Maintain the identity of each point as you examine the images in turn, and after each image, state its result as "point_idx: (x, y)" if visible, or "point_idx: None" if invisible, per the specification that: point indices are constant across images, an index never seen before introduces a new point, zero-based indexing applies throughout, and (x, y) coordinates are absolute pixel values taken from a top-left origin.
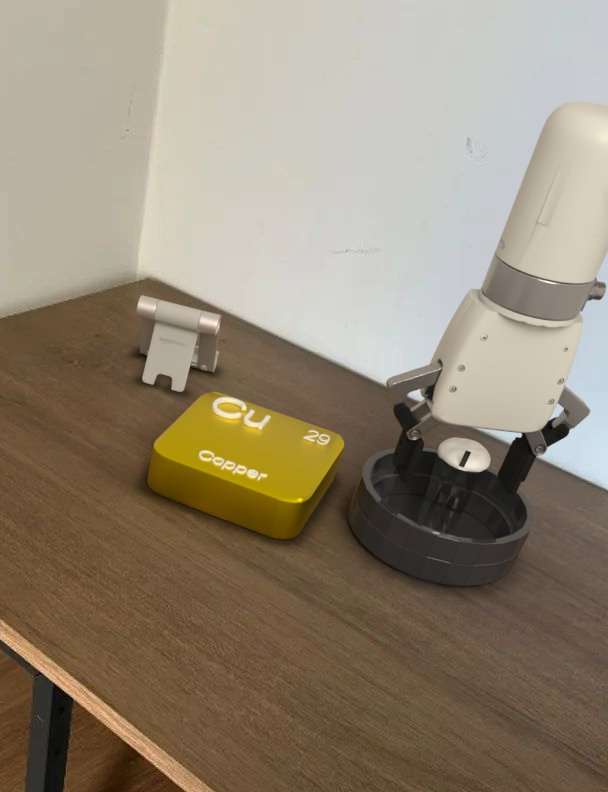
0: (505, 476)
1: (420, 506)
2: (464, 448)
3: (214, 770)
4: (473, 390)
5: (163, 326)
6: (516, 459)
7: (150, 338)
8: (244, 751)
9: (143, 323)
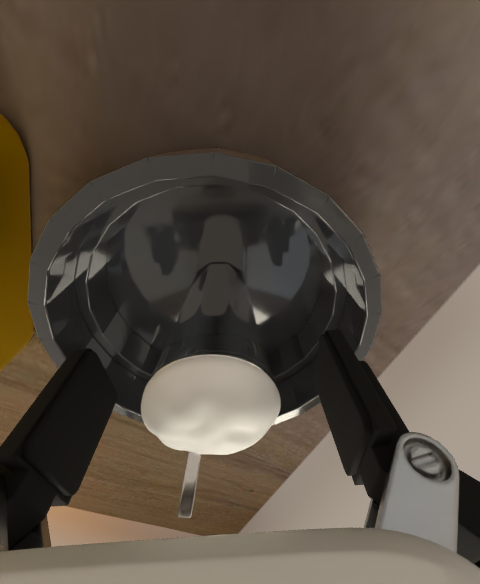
0: (323, 373)
1: (209, 219)
2: (197, 444)
3: (71, 503)
4: None
5: None
6: (341, 433)
7: None
8: (82, 496)
9: None
